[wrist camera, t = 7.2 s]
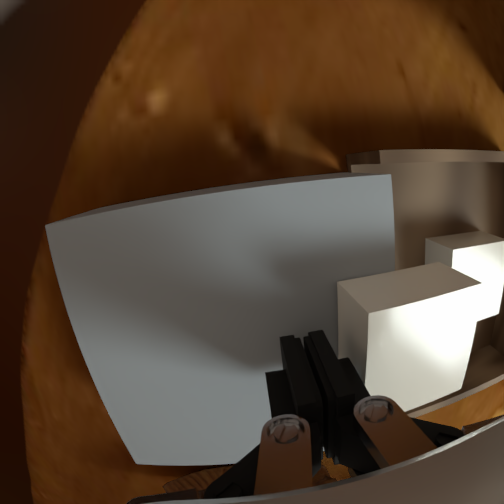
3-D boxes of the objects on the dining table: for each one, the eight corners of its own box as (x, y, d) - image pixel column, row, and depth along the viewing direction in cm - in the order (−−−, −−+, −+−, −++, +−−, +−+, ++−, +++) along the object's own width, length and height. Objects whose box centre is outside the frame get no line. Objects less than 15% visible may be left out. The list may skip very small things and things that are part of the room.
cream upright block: (438, 261, 12) (482, 283, 9) (428, 356, 13) (461, 388, 11) (337, 281, 12) (368, 313, 9) (338, 383, 13) (360, 426, 10)
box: (503, 153, 17) (546, 155, 12) (489, 345, 21) (519, 370, 16) (346, 154, 17) (379, 150, 12) (353, 389, 21) (373, 430, 16)
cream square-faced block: (453, 249, 15) (425, 238, 18) (444, 331, 16) (421, 311, 19) (508, 240, 15) (480, 230, 18) (498, 313, 16) (474, 298, 19)
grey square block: (343, 172, 17) (391, 174, 11) (349, 379, 20) (378, 437, 15) (100, 207, 17) (45, 225, 11) (154, 403, 20) (136, 464, 14)
